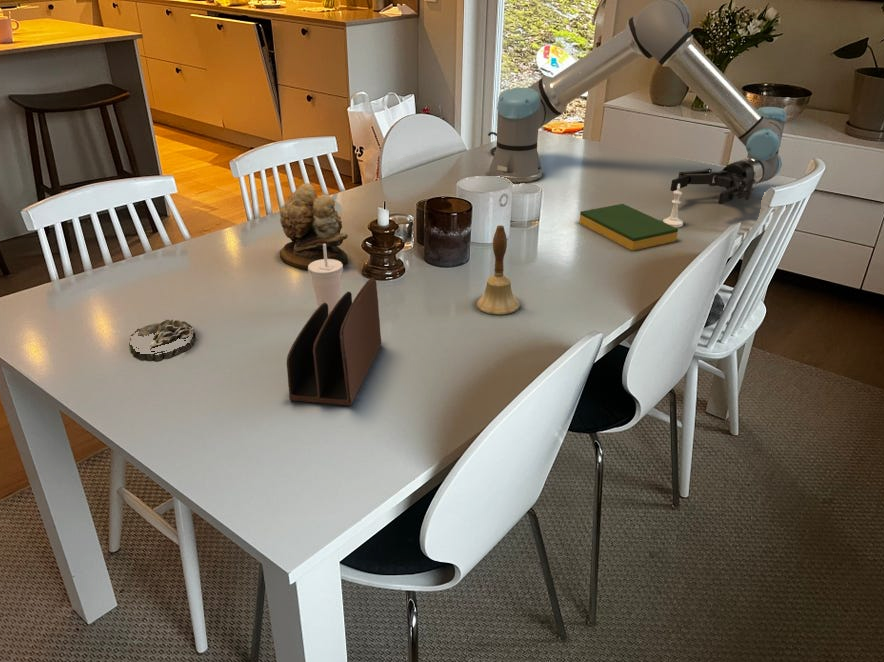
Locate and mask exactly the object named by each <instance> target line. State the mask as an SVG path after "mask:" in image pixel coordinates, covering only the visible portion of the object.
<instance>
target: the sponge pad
mask: <svg viewBox="0 0 884 662" xmlns="http://www.w3.org/2000/svg"><path fill="white" fill-rule="evenodd" d="M579 224H580V225H582V226H584V227H585V228H588V229H589V230H592V231H593V232H596V233H598V235H601V236H603V237H605V238H607V239H608V240H610V241H613V242H615V243H616V244H618V245H620V246H622V247H624V248H626V249H628V250H630V251H637V250H642V249H646V248H650V247H655V246H660V245H664V244H669V243H673V242H677V238H678V233H679V228H678V227H677V228H675V227H673V226H671V225H668V224H666V223H664V222H663V220H662V221H661V220H659V219H658V218H655V217H654V216H651V215H649V214H646V213H644V212H642V211H640V210H638V209H635V208H633V207H631V206H629V205H627V204H625V203H619V204H613V205H608V206H603V207H597V208H593V209H587V210H582V211H580V213H579Z"/></svg>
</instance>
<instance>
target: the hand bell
mask: <svg viewBox="0 0 884 662" xmlns="http://www.w3.org/2000/svg"><path fill="white" fill-rule="evenodd" d="M507 237H508V236H507V234H506V230H505V226H504V225H501V224H500V225H497V226H496V229H495V232H494V235H493V239H492V251H493V255H494V274H493V275H492V276H489V277H488V278H487V280H486V285H485V290H484V293H483V295H481V297H480V298H478V300H477V302H476V308H478V310H479V311H481V312H483V313H485V314H490V315H498V316H502V315H509V314H512V313H514V312H516V311H518V310H519V309H520V307H521V306H520V305H521V304H520V302H519V300H518V298H516V297H515V296H514V293H513V290H512V285H511V284H512V283H511V279H510V278H509V277H507V276H506V275H504V272H505V271H504V258H505V255H506V252H507V247H508V238H507Z"/></svg>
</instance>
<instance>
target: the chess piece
mask: <svg viewBox="0 0 884 662" xmlns="http://www.w3.org/2000/svg"><path fill="white" fill-rule="evenodd" d="M672 192H673V198H674V199H672V200H671V203H672V204H673V206H672V208H671V213H670V216H668V217H665V218H664V219H663V220H662V222H664V223H666V224H668V225H671V226H673V227H675V228H677V229H678V228H682V227H683V226H684V222H683V221H684V220H682V219H680V218H679V216H678V209H679V204H681V203H682V202H681V200H680V198H681V197H682V194H683V192H682V190H681V188H680V184H678V186H677V190H675V191H672Z"/></svg>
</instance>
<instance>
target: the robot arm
mask: <svg viewBox="0 0 884 662" xmlns="http://www.w3.org/2000/svg"><path fill="white" fill-rule="evenodd" d="M690 22H691V15H690V11H689V8H688V6H687V5H686V3H685V2H684V1H682V0H655V1H652V2H650V3H649V4H647V5H646V6H645V7H643V8H642V9H641V11H639V12H637V13H636V14H635V15H633V16H632V17H630V18H629V19H628V20H627V22H626V26H625V28H624V29H623V30H621V31H620V32H619V33H617V34H615V35H613V36H612V37H611V38H609V39H608V40H607V41H605V42H604V43H602V44H601V45H599V46H597V47H596V48H594V49H593V50H592V51H590V52H588V53H587V54H586V55H584V56H582V57H581V58H579V59H577V61H575V62H574V63H572V64H570V65H569V66H567V67H565V68H564V69H563V70H561V71H560V72H558V73H557V74H555V75H554V76H549V75H544V76H543V77H541V78H540V79H538V80H537V81H535V82H533V83H532V84H531V85H529V86H527V87H513V88H509V89H505V90H504V91H502V92H501V93H500V94H499V96H498V98H497V105H496V112H497V115H496V117H497V118H496V132H495V131H489V132H488V134H487V136H488V137H490V136H491V135H493V136H495V137H496V145H495V146H494V147H492V148H491V149H490V153H491V155H493V156H492V160H491V163H490V165H489V167H488V168H489V169H488V170H489V172H488V175H489V177H490V176H500V177H504V178H507V179H509V180H510V181H511V182H512V184H523V183H524V184H525V183H531V182H535V181H537V180H540V179H542V175H543V168H542V163H541V159H540V156H539V151H538V142H539V141H538V138H539V130H540V129H541V128H542V127H545V125H548V124H549V123H550V122H551V121H553V120H555V119H556V118H558V117H560V116H562V115H563V114H564V113H565V112H566V111H567V108H568V104H570V103H572V102H573V101H575V100H577V99H578V98H580V97H581V96H583V95H584V94H586V93H588V92H589V91H591V90H593V89H594V88H595V87H598V85H600V84H601V83H603V82H605V81H606V80H608V79H609V78H611V77H613V76H614V75H616V74H618V73H619V72H621V71H622V70H623V69H625V68H627V67H628V66H630V65H632V64H633V63H635V62H636V61H638V60H639V59H645V60H650V59H652V58H654V59H655V60H656V61H657V62H658V64H660V66H662V67H668V68H670V69H671V70H672V71H673V72H674V73H675V74H676V76H678V77H679V79H681V81H682V82H683V83H684V84H685V85H686V87H688V88H689V89H690V90H691V91H692V92H693V93H694V94H695V95H696V96H697V97H698V98H699V99H700V100H701V101H702V102H703V103H704V105H705V106H707V107H708V109H709V110H710V111H711V112H712V113H713V114H714V115H715V116H716V117H717V119H719V120H720V122H722V124H724V126H726V127H727V128H728V130H729V131H730V132H732V134H733V135H734V136H735V137H736V138H737V139H738V140H739V142H741V144H742V145H744V147H745V149H746V152H747V157H746V158H743V159H740V160H736V161H734V162H731V163H729V164H727V165H725V166H724V168H723V169H722V170H720V171H713V169H712V168H705V169H697V170H686V171H685V170H684V171H679V172H678V177H677V178H674V179H672V180H671V185H670V191H671V192H674V191H677V186H678V184H680V189H683V188H686V187H688V186H689V185H708V186H709V187H720V188H724V189H726V190H723V191H721V192H720V193H719V198H718V205H723V204H725V203H728V202H730V201H734V200H736V199H738V200H740V199H743V198H744V200H745V201H749V200H750V199H751V196H752V195H751V194H752V192H753V191H754V190H755V186H756V185H758V184H761V183H764V182H768V181H770V180H771V179H773V178H774V177H776V176H777V175H778V174H779V173H780V172H781V170H782V167H783V162H782V159H781V156H780V155H779V152H780V147H781V144H782V143H781V141H782V139H783V134H784V129H785V125H786V120H787V115H788V113H787V111H786V109H784V108H782V107H776V106H761V107H759V108H756V107H755V106H754V105H753V104H752V102H750V101H749V99H748V98H747V97H745V95H744V94H742V92H741V91H740V90H739V89H738V88H737V86H735V84H733V82H732V81H730V80H729V79H728V78H727V77H726V75H725V74H724V73H723V72H722V71H721V70H720V68H718V67H717V66H716V64H715V63H713V61H712V60H710V59H709V58H708V56H707V55H706V54H705V53H704V52H703V51H702V50H701V49H700V48H699V47H698V46H697V45H696V44H695V43H694V34H692V33H691V32H690V30H689V28H690V24H691V23H690Z"/></svg>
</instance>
